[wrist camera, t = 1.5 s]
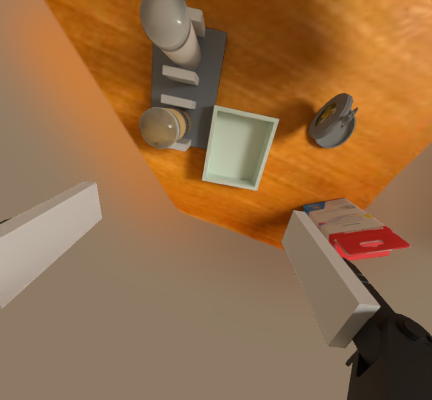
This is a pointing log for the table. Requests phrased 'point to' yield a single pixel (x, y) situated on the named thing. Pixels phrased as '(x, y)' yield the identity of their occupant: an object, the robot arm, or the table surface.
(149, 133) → the cylinder
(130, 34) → the table surface
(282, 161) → the table surface
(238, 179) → the parts tray
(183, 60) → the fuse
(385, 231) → the ink box
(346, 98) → the pocket watch
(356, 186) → the table surface
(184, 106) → the fuse board
